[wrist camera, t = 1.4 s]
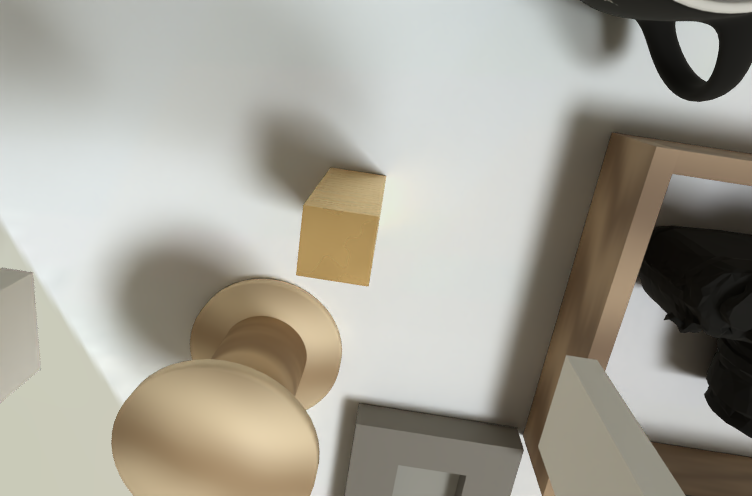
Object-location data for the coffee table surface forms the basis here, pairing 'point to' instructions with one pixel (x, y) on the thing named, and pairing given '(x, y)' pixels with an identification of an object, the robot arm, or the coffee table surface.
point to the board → (430, 455)
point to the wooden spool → (234, 400)
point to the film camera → (709, 306)
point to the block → (341, 227)
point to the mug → (657, 20)
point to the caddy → (615, 284)
